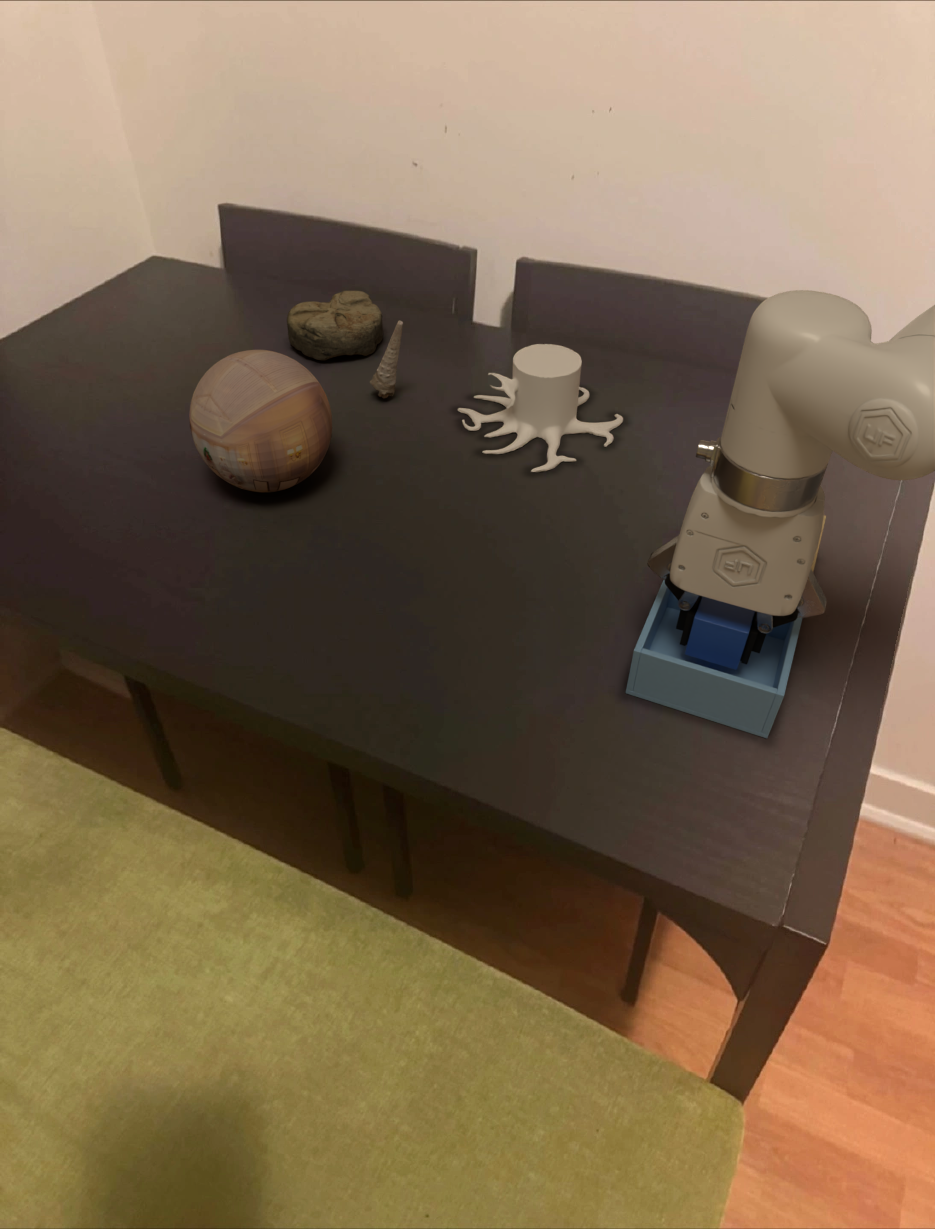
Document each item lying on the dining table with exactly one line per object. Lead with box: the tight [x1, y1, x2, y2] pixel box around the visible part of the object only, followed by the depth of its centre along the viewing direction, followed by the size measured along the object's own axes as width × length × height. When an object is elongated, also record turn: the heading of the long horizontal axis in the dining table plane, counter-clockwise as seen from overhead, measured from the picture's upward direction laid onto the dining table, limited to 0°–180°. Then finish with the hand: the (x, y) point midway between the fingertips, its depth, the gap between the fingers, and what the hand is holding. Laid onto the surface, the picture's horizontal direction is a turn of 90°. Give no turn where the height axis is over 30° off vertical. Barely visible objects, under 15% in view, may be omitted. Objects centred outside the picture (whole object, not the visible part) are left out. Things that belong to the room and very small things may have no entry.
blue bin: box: [625, 566, 803, 739], centre depth 75 cm, size 12×12×6 cm
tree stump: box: [456, 343, 624, 473], centre depth 103 cm, size 20×19×8 cm
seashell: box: [369, 320, 404, 399], centre depth 106 cm, size 3×5×11 cm, turn 70°
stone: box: [286, 290, 384, 361], centre depth 119 cm, size 13×13×5 cm
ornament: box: [188, 349, 333, 493], centre depth 92 cm, size 15×15×15 cm
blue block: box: [685, 596, 755, 670], centre depth 73 cm, size 4×4×4 cm
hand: (716, 642), depth 75 cm, fingers closed on blue block, 4 cm apart
